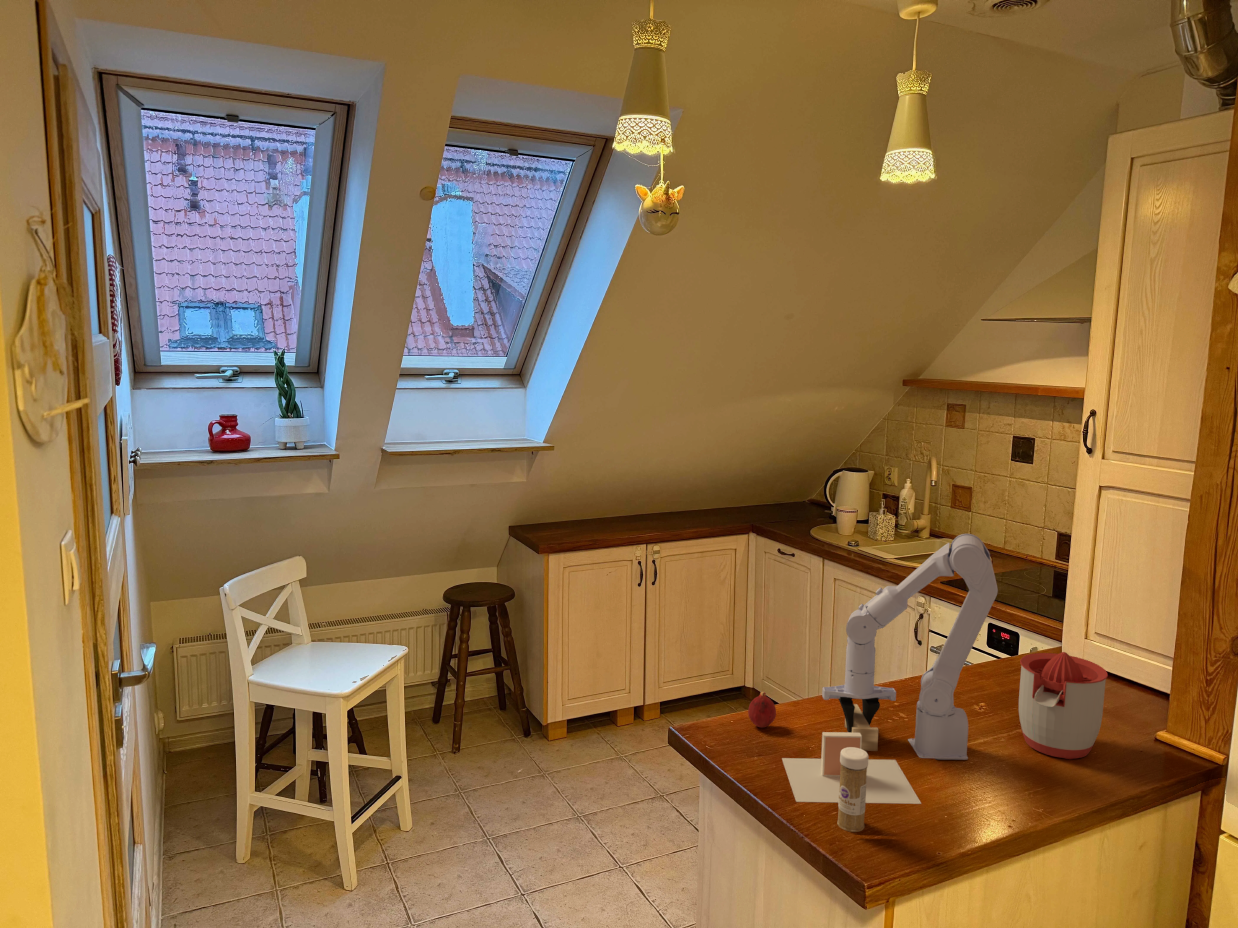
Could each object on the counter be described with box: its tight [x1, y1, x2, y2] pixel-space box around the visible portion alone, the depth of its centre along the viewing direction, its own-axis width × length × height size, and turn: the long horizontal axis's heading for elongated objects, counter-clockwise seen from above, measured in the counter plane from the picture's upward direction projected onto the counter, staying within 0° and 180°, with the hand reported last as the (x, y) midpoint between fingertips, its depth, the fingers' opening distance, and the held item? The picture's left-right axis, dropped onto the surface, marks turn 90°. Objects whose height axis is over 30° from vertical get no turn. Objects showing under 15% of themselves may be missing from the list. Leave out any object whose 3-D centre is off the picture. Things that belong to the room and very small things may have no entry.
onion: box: [747, 691, 777, 729], centre depth 184 cm, size 6×6×8 cm
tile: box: [820, 731, 862, 776], centre depth 164 cm, size 7×2×8 cm, turn 89°
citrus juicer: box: [1018, 651, 1109, 760], centre depth 175 cm, size 16×17×20 cm
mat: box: [781, 757, 922, 805], centre depth 162 cm, size 22×16×1 cm
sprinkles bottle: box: [836, 747, 869, 833], centre depth 147 cm, size 5×5×13 cm
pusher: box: [844, 703, 879, 752], centre depth 179 cm, size 5×12×5 cm, turn 179°
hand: (857, 731), depth 180 cm, fingers closed on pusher, 2 cm apart
